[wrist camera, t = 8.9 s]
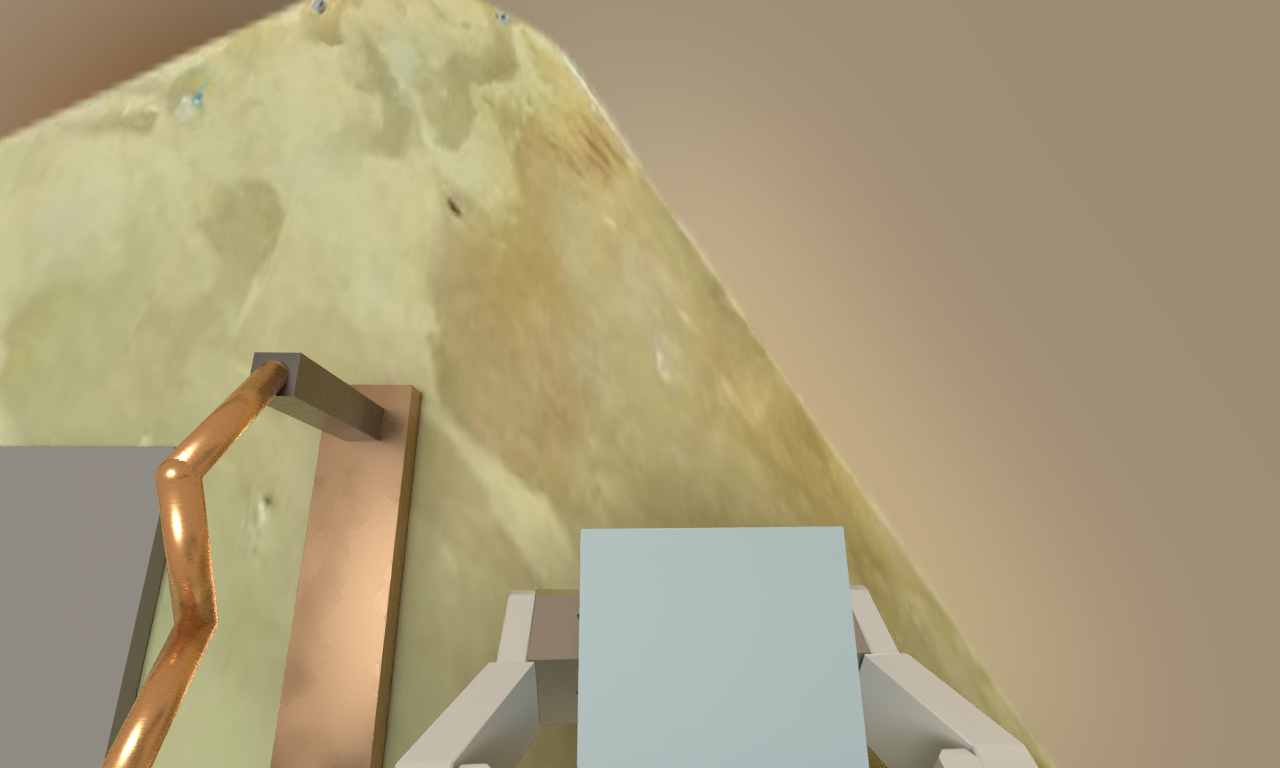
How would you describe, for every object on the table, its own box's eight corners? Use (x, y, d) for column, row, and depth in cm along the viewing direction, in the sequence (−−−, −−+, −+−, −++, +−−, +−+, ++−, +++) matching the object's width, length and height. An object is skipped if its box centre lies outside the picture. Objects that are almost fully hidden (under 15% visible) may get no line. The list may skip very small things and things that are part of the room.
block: (743, 700, 16) (876, 833, 8) (590, 703, 15) (575, 845, 8) (734, 542, 17) (843, 527, 9) (592, 544, 16) (581, 528, 9)
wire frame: (373, 854, 25) (109, 1171, 12) (274, 856, 25) (-100, 1182, 12) (421, 393, 31) (280, 269, 18) (342, 393, 30) (141, 267, 17)
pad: (118, 777, 25) (98, 785, 24) (-130, 782, 25) (-160, 791, 24) (189, 450, 29) (174, 446, 28) (-24, 450, 29) (-45, 446, 28)
